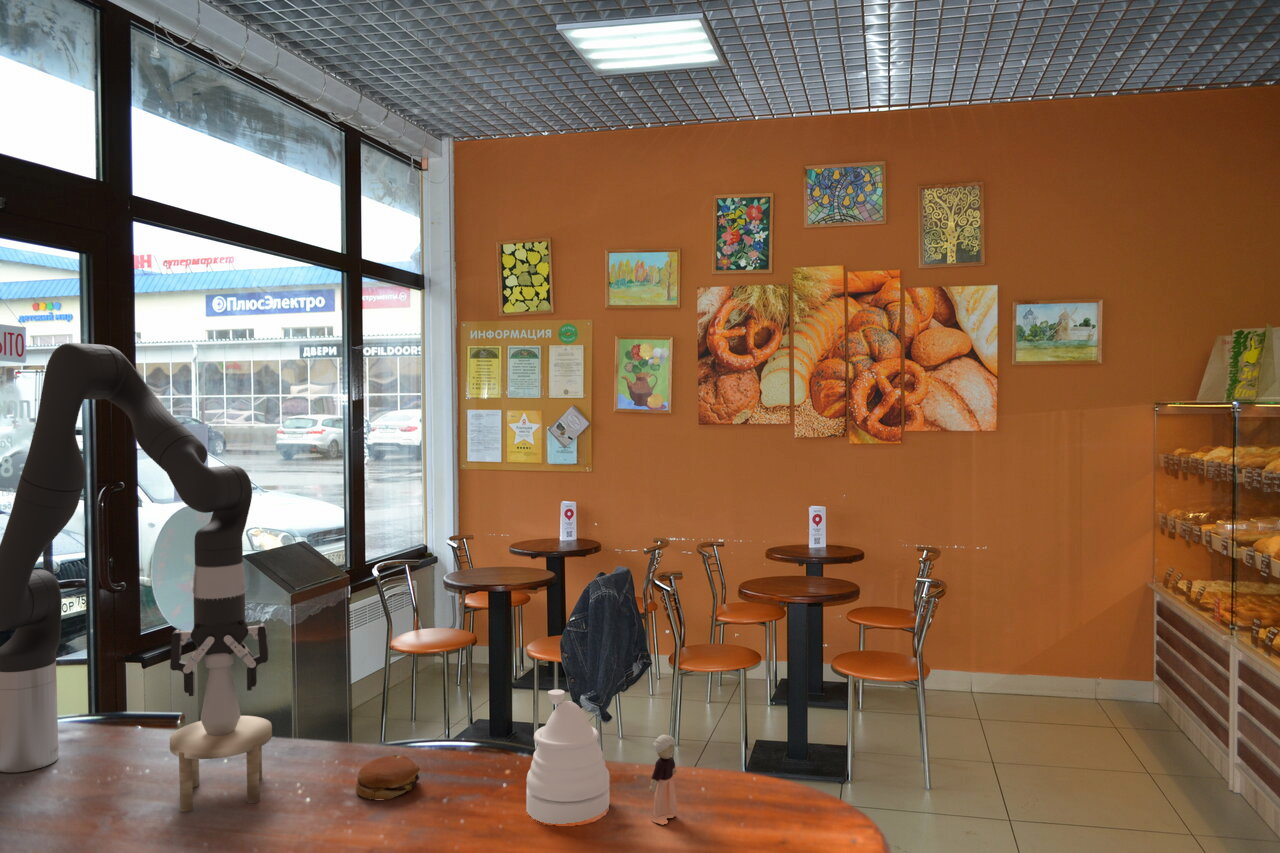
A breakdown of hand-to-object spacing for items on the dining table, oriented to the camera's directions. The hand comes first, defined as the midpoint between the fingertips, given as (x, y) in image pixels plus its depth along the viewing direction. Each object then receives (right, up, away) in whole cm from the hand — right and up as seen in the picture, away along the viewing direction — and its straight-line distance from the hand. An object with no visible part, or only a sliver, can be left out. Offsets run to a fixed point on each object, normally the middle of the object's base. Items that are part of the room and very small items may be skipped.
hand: (220, 692), depth 155 cm
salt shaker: (0, -7, 0) cm, 7 cm away
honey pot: (+56, -17, -5) cm, 59 cm away
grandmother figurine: (+71, -17, -8) cm, 73 cm away
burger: (+26, -17, +2) cm, 31 cm away
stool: (0, -16, +1) cm, 16 cm away
